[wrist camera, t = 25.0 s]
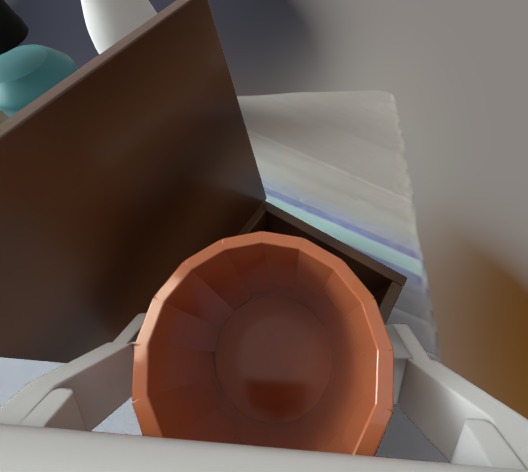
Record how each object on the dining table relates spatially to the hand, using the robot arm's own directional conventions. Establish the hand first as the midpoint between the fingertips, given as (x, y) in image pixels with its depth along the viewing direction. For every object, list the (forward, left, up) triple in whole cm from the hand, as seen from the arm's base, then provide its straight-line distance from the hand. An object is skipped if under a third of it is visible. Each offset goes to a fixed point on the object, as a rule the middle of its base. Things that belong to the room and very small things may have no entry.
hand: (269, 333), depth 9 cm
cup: (-1, 0, -4) cm, 4 cm away
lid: (+1, +8, -1) cm, 8 cm away
